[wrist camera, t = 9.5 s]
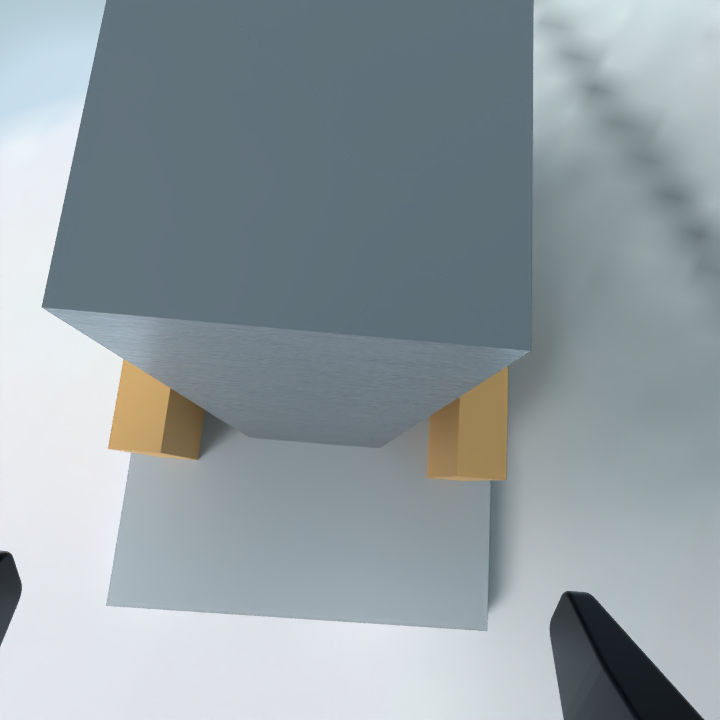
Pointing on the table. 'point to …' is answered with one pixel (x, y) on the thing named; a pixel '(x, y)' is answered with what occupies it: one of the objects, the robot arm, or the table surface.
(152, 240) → the rectangular block
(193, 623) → the table surface
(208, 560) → the keeper bracket
